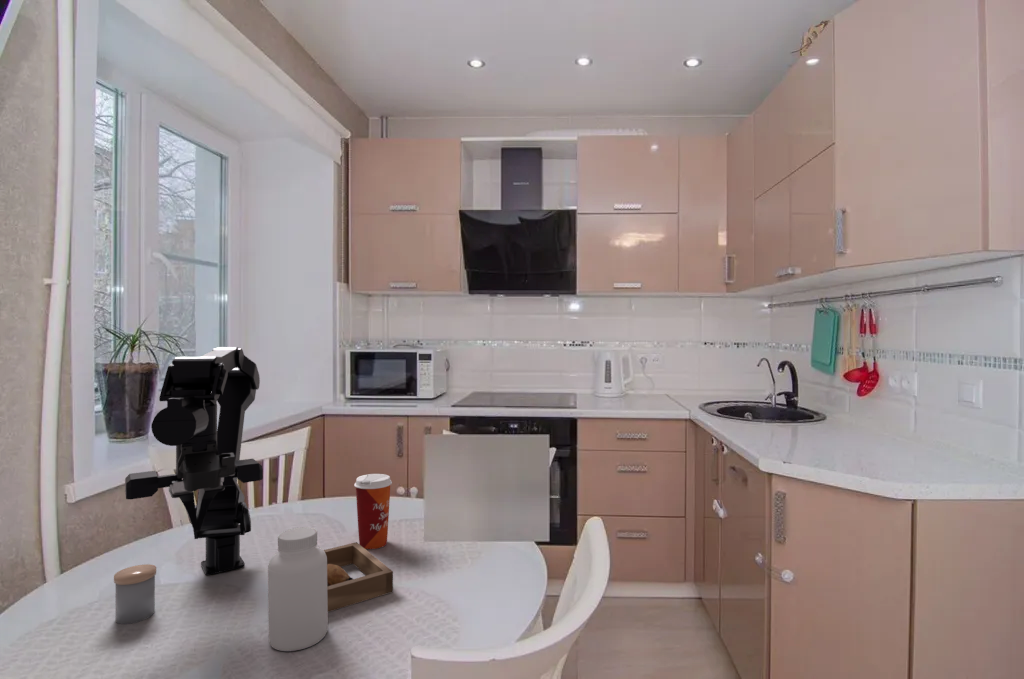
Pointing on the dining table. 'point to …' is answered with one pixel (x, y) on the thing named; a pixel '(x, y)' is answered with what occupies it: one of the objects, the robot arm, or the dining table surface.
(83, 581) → the dining table surface
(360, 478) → the paper cup
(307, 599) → the pill bottle
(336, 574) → the bread roll
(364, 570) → the tray
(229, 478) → the robot arm
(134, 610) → the grey sugar pot
